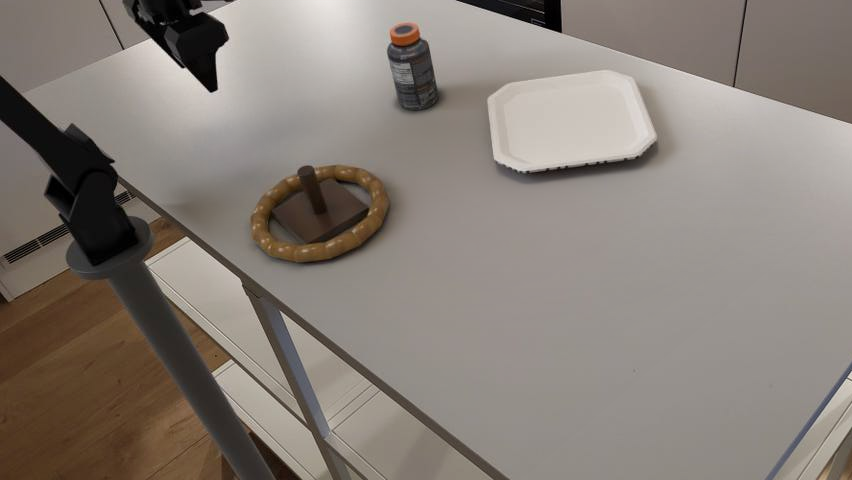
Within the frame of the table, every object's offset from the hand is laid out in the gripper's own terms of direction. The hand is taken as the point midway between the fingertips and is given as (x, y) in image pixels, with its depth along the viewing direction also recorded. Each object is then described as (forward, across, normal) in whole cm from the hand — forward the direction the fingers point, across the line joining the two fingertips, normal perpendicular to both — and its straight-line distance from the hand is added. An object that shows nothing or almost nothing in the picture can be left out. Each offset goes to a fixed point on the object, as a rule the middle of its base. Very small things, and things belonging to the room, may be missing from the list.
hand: (199, 78), depth 98 cm
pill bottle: (+12, -10, -26) cm, 30 cm away
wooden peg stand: (+12, -22, -2) cm, 25 cm away
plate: (+12, -32, -35) cm, 49 cm away
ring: (+11, -22, -2) cm, 25 cm away
